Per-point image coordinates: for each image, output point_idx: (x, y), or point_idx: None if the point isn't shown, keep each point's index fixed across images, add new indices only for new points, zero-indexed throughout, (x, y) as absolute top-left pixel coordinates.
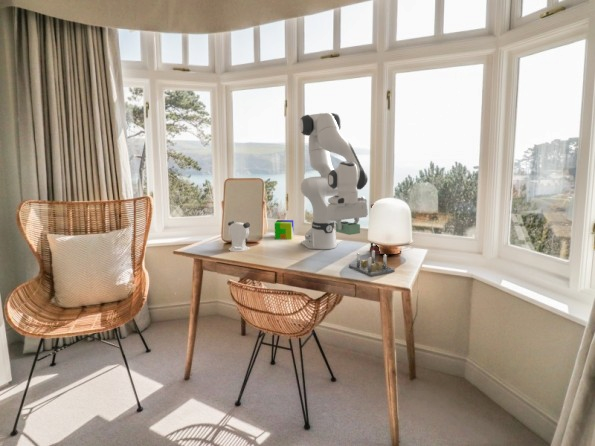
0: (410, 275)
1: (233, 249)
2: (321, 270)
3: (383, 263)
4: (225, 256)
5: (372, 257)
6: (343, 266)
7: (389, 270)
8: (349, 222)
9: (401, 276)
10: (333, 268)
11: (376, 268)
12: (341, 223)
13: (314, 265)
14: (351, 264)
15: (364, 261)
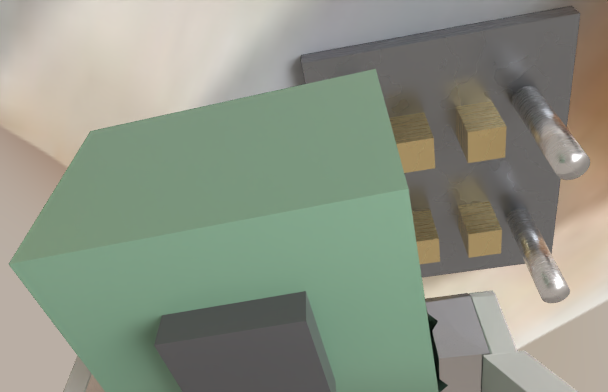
0: (566, 318)
1: None
2: (25, 61)
3: (516, 242)
4: None
5: (533, 135)
6: (258, 22)
7: (502, 265)
8: (417, 326)
9: (507, 317)
10: (147, 45)
11: (453, 212)
12: (157, 361)
13: None
14: (327, 62)
15: (409, 170)
